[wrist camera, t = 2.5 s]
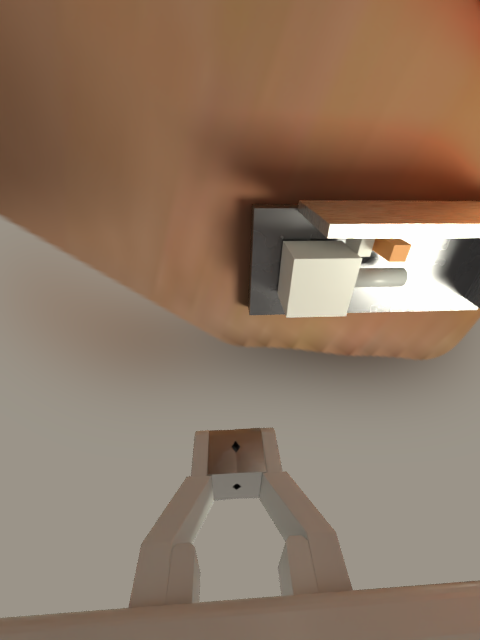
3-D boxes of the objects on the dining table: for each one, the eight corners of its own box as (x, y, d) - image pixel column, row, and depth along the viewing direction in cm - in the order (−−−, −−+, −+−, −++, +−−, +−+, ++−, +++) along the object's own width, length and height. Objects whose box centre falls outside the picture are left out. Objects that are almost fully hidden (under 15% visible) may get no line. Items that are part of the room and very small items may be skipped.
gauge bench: (248, 307, 28) (258, 364, 21) (252, 196, 22) (268, 224, 15) (466, 302, 29) (543, 354, 22) (525, 198, 23) (655, 223, 16)
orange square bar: (357, 239, 23) (388, 261, 19) (361, 224, 22) (394, 245, 18) (371, 239, 23) (405, 261, 19) (375, 224, 22) (411, 244, 18)
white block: (277, 293, 25) (286, 317, 22) (285, 221, 21) (297, 236, 18) (380, 292, 26) (403, 314, 23) (405, 221, 22) (437, 235, 19)
